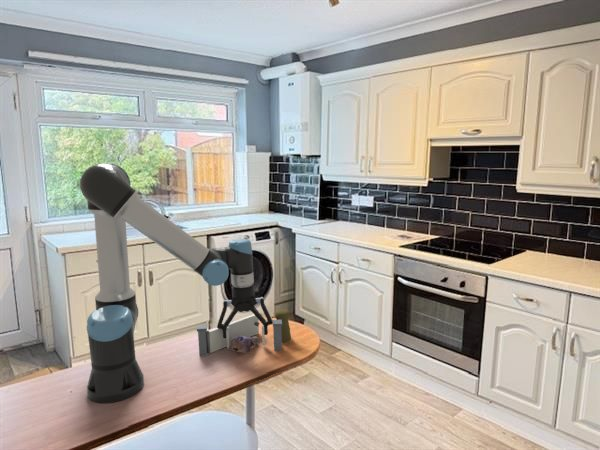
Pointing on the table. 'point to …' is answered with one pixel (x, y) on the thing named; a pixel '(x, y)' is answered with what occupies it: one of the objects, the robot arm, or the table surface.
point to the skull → (243, 343)
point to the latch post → (277, 334)
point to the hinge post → (202, 339)
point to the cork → (284, 324)
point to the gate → (232, 332)
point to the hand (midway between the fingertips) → (246, 345)
